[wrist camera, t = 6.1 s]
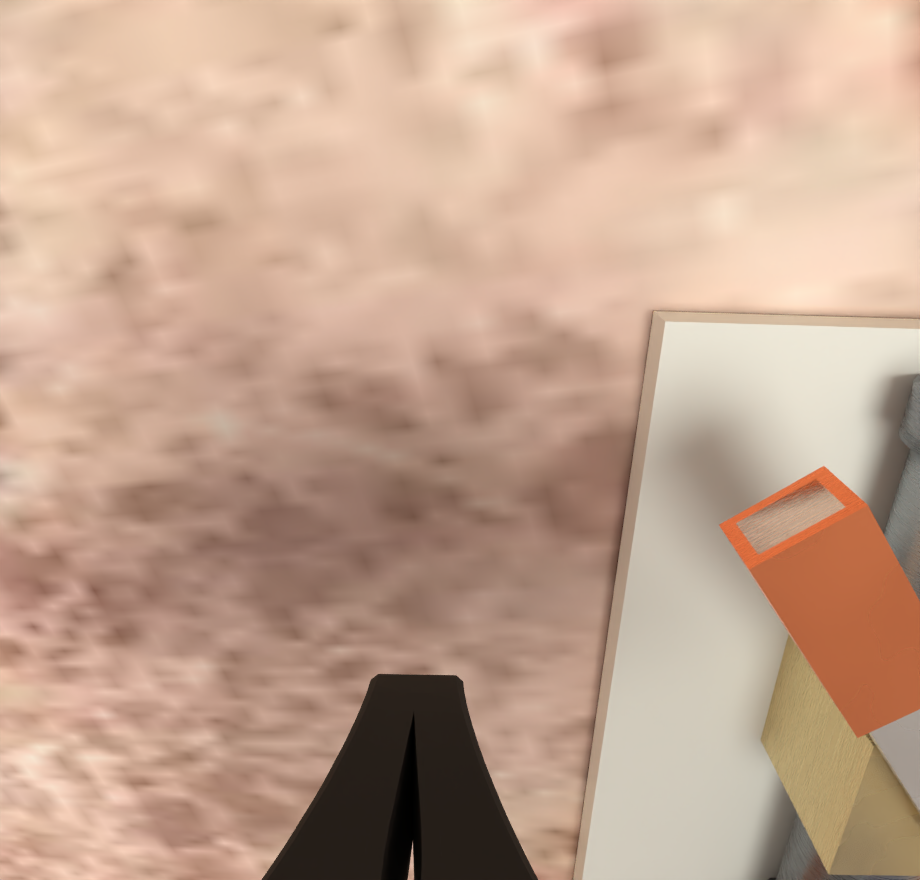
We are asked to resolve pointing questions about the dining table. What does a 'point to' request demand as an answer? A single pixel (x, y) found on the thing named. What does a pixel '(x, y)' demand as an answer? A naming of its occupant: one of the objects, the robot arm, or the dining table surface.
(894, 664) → the valve lever
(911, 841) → the pipe and valve
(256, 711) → the dining table surface
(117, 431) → the dining table surface
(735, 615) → the valve board
